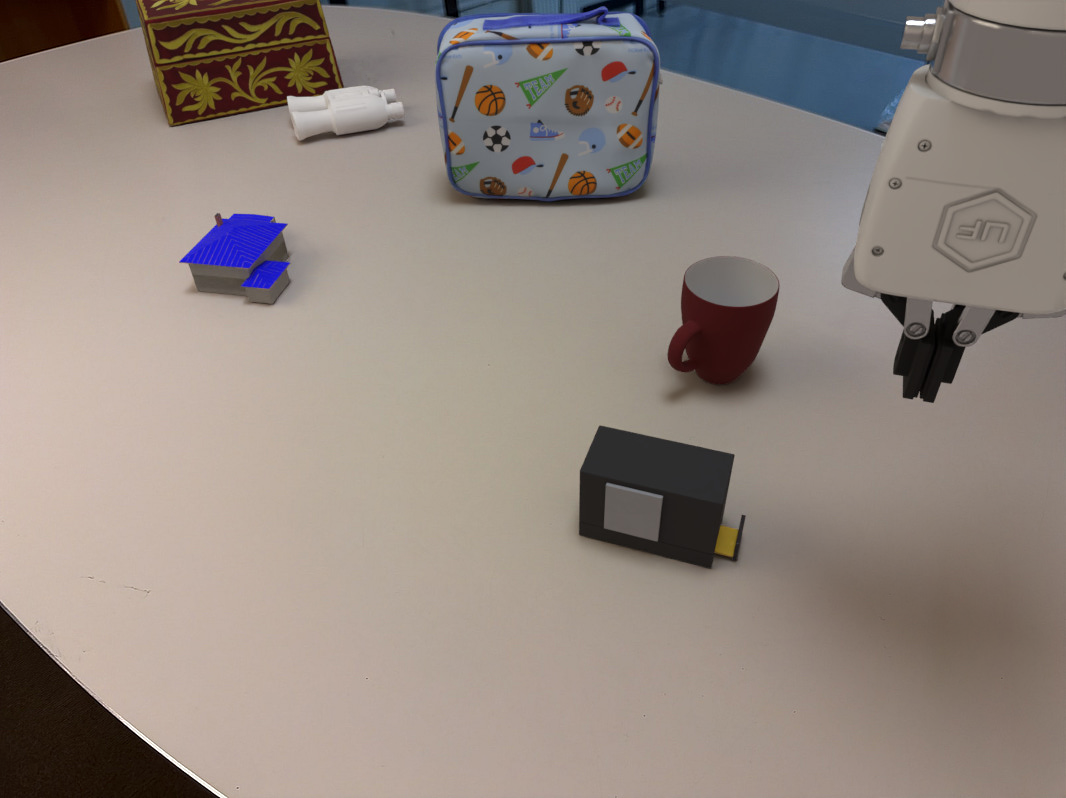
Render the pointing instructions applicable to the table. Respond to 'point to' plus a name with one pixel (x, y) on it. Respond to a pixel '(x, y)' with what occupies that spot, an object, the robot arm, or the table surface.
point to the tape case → (654, 495)
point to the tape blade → (729, 540)
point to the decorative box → (236, 54)
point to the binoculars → (343, 111)
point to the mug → (723, 317)
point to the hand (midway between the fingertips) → (917, 385)
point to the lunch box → (547, 104)
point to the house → (241, 258)
